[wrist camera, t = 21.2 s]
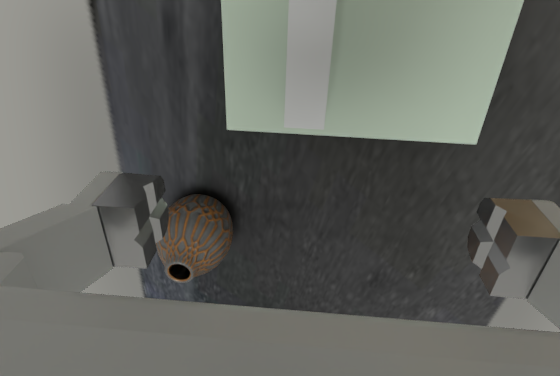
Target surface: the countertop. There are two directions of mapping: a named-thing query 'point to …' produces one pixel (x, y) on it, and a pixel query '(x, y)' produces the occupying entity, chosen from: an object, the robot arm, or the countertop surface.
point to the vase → (195, 237)
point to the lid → (365, 66)
